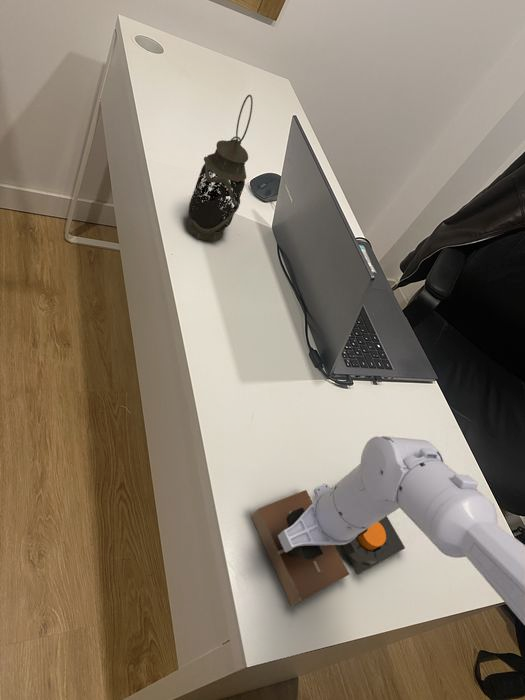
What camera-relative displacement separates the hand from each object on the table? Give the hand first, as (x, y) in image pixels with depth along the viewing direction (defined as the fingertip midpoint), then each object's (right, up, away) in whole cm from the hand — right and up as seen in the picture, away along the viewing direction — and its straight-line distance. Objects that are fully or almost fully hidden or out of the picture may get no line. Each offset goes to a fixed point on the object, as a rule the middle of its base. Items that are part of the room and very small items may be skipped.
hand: (304, 540), depth 64 cm
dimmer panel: (-1, -2, +2) cm, 3 cm away
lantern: (-17, +49, +36) cm, 63 cm away
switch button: (+9, -1, +3) cm, 10 cm away
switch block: (+8, -1, +8) cm, 11 cm away
